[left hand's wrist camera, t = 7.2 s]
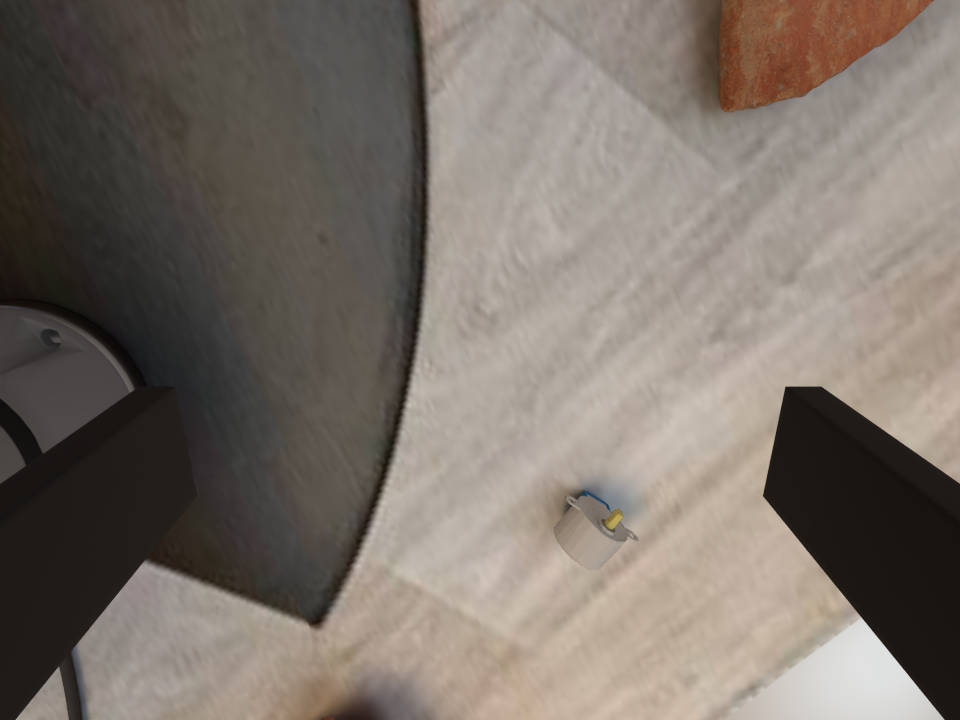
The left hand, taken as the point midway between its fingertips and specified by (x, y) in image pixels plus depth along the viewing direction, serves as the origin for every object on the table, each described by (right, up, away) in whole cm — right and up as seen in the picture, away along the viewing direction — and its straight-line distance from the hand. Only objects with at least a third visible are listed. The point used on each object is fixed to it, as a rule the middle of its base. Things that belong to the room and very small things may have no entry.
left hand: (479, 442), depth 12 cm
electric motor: (+9, -10, +34) cm, 36 cm away
